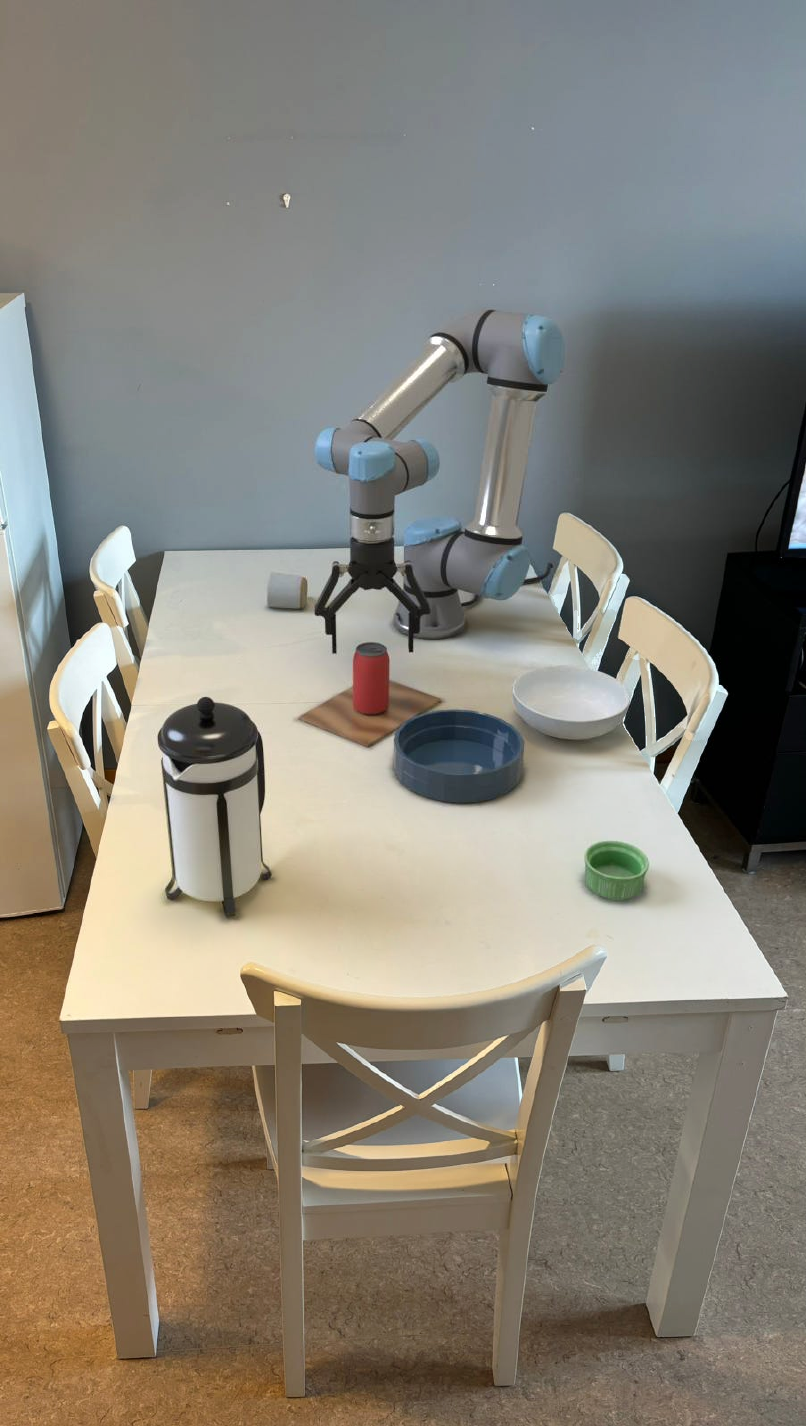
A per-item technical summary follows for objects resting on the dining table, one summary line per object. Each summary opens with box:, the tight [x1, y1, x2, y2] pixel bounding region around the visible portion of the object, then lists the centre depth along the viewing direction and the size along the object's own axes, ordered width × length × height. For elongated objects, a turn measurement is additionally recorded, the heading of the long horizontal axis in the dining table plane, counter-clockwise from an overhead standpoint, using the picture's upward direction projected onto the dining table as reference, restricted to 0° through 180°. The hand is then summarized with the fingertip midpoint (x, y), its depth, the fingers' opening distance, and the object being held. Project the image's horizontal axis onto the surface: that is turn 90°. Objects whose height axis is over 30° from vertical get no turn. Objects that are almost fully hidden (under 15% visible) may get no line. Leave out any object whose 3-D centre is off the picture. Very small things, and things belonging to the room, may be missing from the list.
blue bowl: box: [392, 708, 525, 804], centre depth 179 cm, size 21×21×6 cm
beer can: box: [352, 641, 391, 715], centre depth 194 cm, size 7×7×12 cm
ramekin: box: [584, 840, 650, 901], centre depth 152 cm, size 9×9×4 cm
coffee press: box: [156, 696, 273, 919], centre depth 145 cm, size 17×16×30 cm
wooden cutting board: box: [298, 679, 442, 748], centre depth 197 cm, size 22×16×1 cm
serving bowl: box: [511, 664, 631, 741], centre depth 193 cm, size 21×21×7 cm
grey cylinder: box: [266, 572, 308, 610], centre depth 238 cm, size 11×8×8 cm
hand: (372, 649), depth 192 cm, fingers open, 13 cm apart
